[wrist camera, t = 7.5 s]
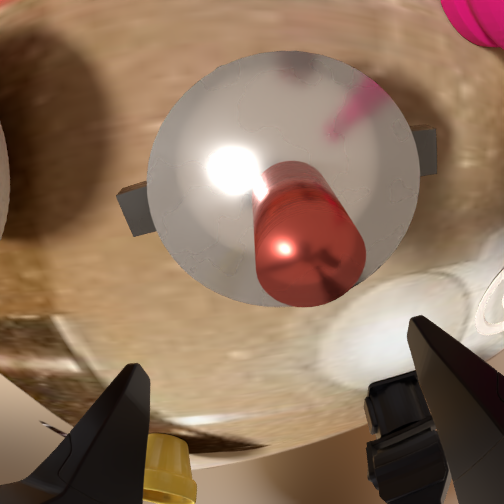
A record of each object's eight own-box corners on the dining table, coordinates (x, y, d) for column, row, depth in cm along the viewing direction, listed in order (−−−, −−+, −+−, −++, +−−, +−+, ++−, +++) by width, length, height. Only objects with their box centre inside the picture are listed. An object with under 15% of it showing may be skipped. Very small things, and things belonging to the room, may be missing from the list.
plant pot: (121, 423, 37) (109, 483, 29) (191, 429, 37) (186, 494, 29) (144, 450, 42) (137, 501, 34) (205, 454, 42) (202, 508, 34)
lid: (387, 42, 10) (483, 38, 5) (401, 259, 16) (453, 344, 11) (125, 94, 11) (41, 122, 6) (201, 300, 17) (187, 399, 12)
